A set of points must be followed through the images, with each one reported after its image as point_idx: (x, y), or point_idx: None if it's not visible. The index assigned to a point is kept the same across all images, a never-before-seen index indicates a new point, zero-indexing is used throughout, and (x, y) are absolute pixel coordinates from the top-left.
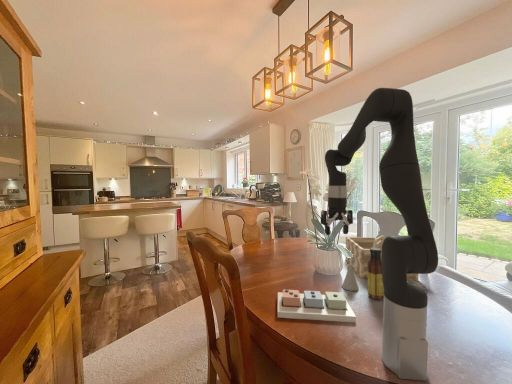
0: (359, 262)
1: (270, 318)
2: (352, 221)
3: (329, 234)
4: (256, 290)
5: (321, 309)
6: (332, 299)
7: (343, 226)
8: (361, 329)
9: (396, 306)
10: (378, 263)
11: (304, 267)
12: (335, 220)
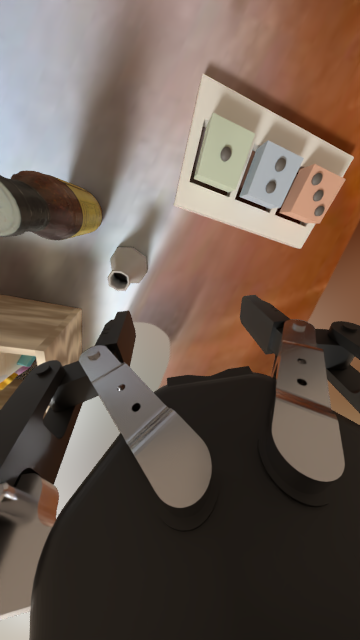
0: (68, 336)
1: (355, 160)
2: (28, 381)
3: (248, 296)
4: (313, 279)
5: (262, 143)
6: (245, 132)
7: (128, 361)
8: (203, 40)
9: None
10: (26, 178)
11: (182, 358)
12: (245, 367)
